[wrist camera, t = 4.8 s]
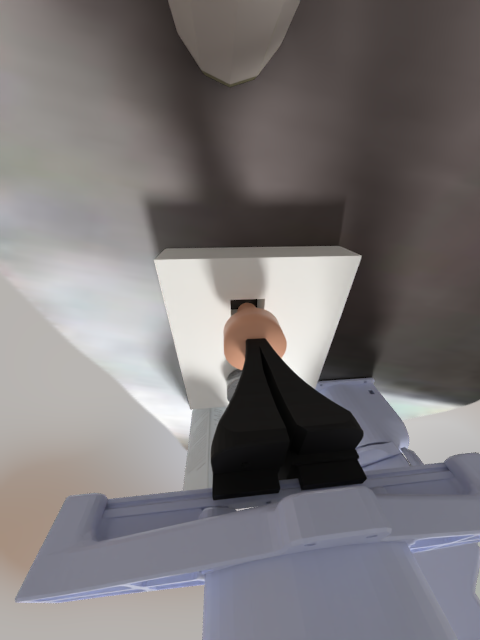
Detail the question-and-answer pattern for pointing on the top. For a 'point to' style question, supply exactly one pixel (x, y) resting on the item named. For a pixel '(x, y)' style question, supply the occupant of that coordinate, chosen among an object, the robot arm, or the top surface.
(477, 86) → the top surface
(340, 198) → the top surface
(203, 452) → the skincare box
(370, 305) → the top surface
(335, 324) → the panel
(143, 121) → the top surface
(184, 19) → the bottle
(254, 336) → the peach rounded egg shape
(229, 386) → the plug
